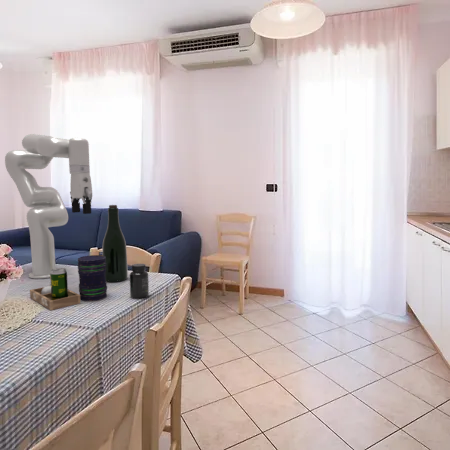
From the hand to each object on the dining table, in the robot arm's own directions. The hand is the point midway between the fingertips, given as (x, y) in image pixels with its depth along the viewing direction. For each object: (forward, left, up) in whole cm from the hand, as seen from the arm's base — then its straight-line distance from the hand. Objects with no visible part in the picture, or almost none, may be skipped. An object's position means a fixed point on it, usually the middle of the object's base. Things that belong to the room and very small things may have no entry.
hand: (81, 213), depth 145 cm
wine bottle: (0, +14, -31) cm, 34 cm away
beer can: (+15, -16, -30) cm, 37 cm away
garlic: (+5, -16, -31) cm, 35 cm away
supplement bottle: (+28, +8, -31) cm, 42 cm away
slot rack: (+10, -16, -30) cm, 36 cm away
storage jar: (+16, -4, -31) cm, 35 cm away
